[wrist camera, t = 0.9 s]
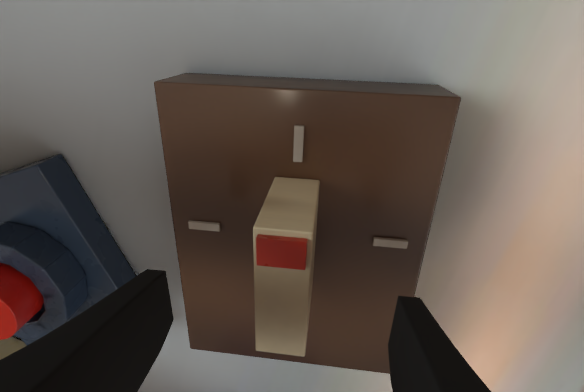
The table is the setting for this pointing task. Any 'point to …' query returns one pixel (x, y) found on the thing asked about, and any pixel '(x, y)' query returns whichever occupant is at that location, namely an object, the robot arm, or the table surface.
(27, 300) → the button
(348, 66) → the table surface
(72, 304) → the button box
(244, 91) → the panel
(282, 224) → the cream block red label
